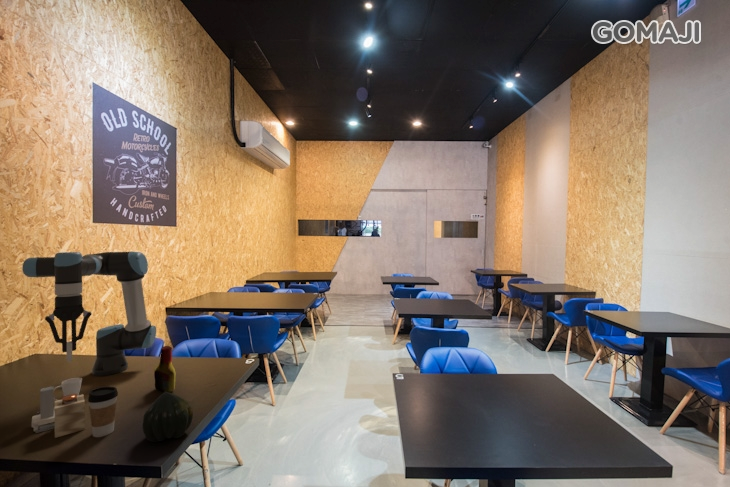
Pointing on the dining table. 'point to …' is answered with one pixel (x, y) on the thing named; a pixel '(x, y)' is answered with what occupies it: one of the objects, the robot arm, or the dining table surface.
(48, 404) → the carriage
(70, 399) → the button
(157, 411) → the squash
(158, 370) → the bottle
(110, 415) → the coffee cup
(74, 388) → the cup
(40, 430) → the rail
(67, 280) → the robot arm
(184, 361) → the dining table surface
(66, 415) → the beige box
